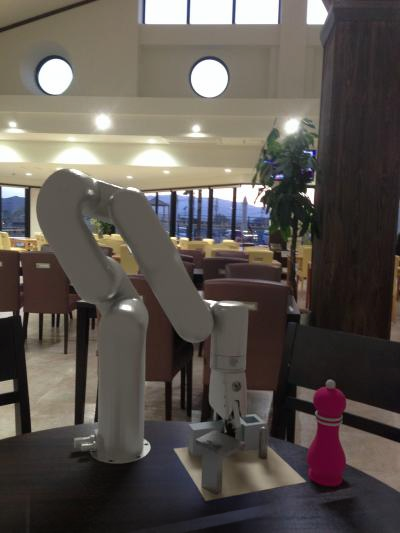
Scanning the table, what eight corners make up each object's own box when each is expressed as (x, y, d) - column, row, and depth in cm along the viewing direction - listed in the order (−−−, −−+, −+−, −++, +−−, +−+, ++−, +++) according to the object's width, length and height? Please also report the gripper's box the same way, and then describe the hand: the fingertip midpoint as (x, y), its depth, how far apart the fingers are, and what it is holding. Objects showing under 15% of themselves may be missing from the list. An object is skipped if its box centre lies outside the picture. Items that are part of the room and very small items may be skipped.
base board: (205, 507, 76) (205, 500, 76) (173, 454, 94) (173, 448, 94) (306, 487, 83) (306, 481, 83) (258, 441, 101) (258, 436, 101)
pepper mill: (347, 496, 81) (353, 388, 79) (306, 490, 82) (311, 384, 81) (342, 475, 88) (348, 375, 86) (304, 470, 89) (310, 372, 88)
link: (194, 458, 90) (195, 432, 89) (186, 447, 94) (187, 422, 94) (264, 448, 95) (266, 423, 95) (254, 437, 100) (255, 413, 100)
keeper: (213, 477, 85) (215, 430, 85) (242, 492, 81) (245, 442, 80) (193, 489, 81) (195, 439, 80) (223, 506, 76) (226, 453, 76)
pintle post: (260, 465, 90) (262, 429, 90) (256, 461, 92) (258, 426, 91) (268, 464, 91) (270, 428, 90) (264, 460, 93) (265, 425, 92)
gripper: (262, 371, 87) (257, 462, 88) (228, 349, 102) (224, 427, 104) (227, 373, 84) (222, 467, 86) (197, 351, 100) (194, 431, 101)
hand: (223, 444), depth 95 cm, fingers closed on link, 3 cm apart
